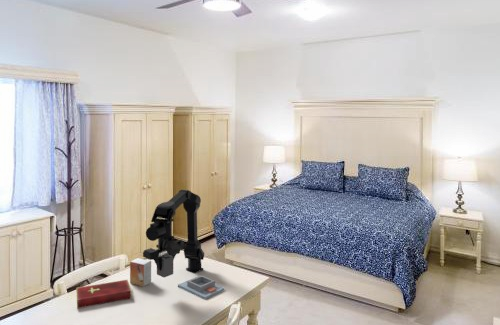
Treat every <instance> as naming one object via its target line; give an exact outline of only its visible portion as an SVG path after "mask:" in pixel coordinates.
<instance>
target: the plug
mask: <svg viewBox="0 0 500 325" xmlns="http://www.w3.org/2000/svg"><path fill="white" fill-rule="evenodd" d="M161 256H162V257H163V258H162V260H161V271H160V270H159V269H158V267H157V266H156V275H157V276H160V277H161V278H167V277H170V276H172V275H174V260H173V256H171V255H169V253H167V252H163V253H161Z"/></svg>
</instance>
